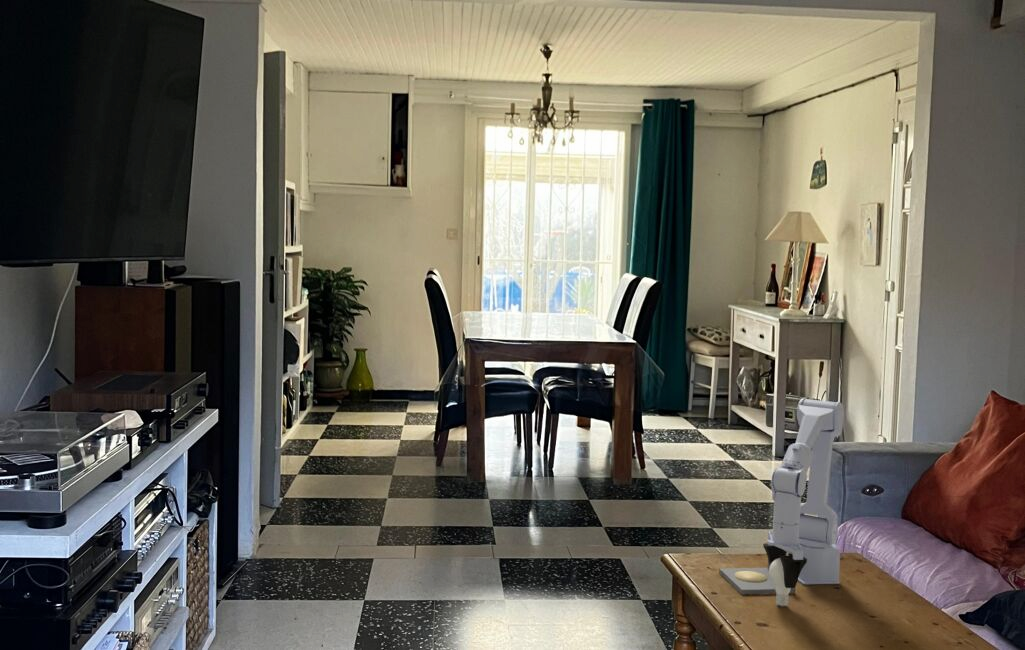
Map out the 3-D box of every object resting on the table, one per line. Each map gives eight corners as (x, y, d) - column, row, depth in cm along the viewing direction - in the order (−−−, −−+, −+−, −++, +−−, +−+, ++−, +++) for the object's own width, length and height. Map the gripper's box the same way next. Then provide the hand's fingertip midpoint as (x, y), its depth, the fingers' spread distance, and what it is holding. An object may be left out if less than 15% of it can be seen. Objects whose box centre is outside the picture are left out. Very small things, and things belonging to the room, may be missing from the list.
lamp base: (770, 572, 243) (771, 547, 242) (795, 593, 228) (797, 567, 227) (719, 573, 241) (720, 548, 240) (741, 594, 226) (742, 568, 225)
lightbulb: (797, 612, 216) (800, 563, 215) (767, 609, 217) (770, 561, 216) (795, 602, 222) (797, 555, 221) (766, 599, 223) (768, 552, 222)
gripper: (756, 513, 225) (753, 571, 226) (782, 531, 210) (779, 593, 211) (785, 513, 226) (782, 570, 227) (813, 531, 211) (810, 592, 212)
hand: (783, 581), depth 219 cm, fingers open, 7 cm apart
